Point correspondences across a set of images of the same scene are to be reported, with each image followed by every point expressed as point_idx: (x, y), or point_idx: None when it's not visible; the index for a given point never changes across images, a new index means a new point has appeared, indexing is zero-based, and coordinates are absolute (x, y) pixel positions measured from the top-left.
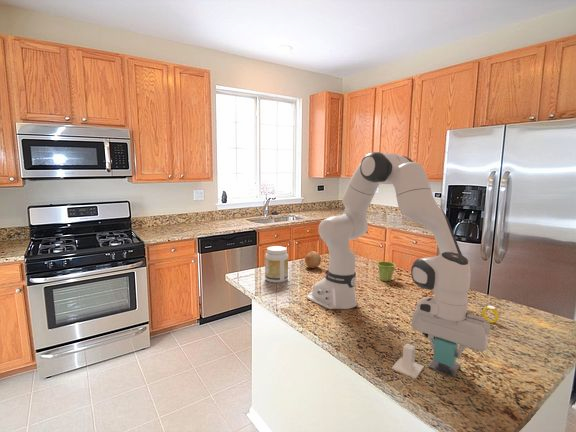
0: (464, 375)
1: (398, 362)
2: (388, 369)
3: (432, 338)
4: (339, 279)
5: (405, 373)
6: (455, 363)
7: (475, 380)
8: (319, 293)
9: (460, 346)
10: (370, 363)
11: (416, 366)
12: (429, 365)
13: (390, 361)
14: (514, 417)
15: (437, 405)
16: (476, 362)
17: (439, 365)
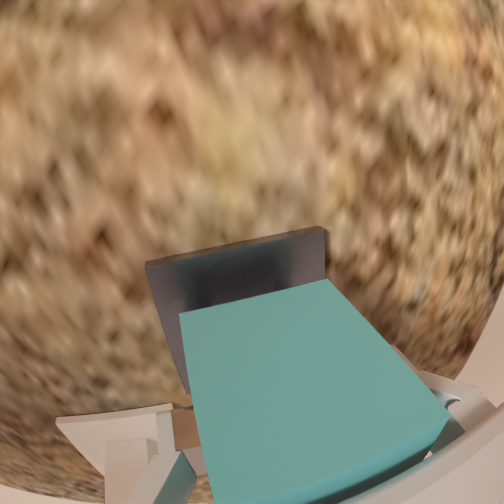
0: (357, 290)
1: (88, 452)
2: (103, 478)
3: (171, 501)
4: None
5: None
6: (296, 236)
7: (401, 282)
8: None
9: (436, 450)
10: (51, 482)
11: (152, 431)
12: (187, 387)
13: (60, 449)
14: (469, 347)
15: None
16: (381, 80)
17: None
